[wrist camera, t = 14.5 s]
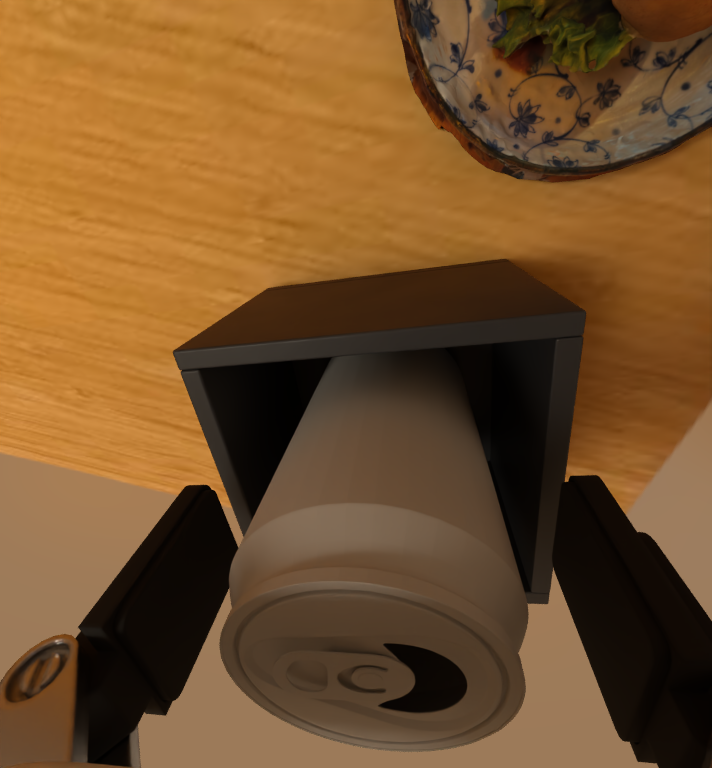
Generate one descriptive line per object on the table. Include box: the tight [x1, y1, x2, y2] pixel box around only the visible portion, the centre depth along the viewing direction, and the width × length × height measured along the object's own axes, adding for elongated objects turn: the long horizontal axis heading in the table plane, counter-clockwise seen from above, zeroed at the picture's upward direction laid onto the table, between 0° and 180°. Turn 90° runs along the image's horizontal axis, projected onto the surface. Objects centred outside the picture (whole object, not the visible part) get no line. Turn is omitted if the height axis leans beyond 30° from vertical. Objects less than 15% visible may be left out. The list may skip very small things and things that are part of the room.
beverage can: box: [220, 348, 528, 752], centre depth 12 cm, size 6×6×12 cm
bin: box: [173, 259, 586, 604], centre depth 15 cm, size 10×10×8 cm
